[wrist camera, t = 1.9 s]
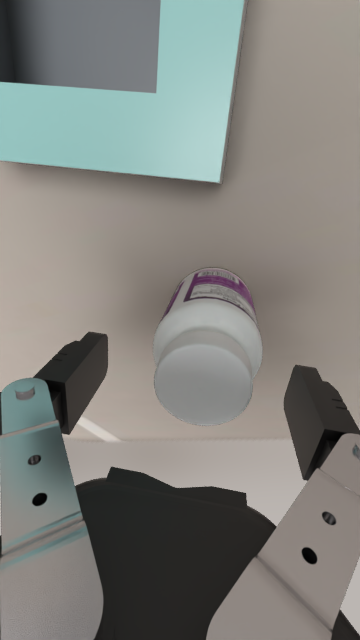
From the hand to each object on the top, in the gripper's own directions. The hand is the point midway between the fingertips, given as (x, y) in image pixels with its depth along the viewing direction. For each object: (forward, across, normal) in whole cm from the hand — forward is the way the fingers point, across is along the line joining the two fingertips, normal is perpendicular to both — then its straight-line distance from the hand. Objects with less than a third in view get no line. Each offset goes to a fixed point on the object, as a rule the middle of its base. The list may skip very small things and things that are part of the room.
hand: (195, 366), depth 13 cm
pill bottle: (+9, 0, 0) cm, 9 cm away
